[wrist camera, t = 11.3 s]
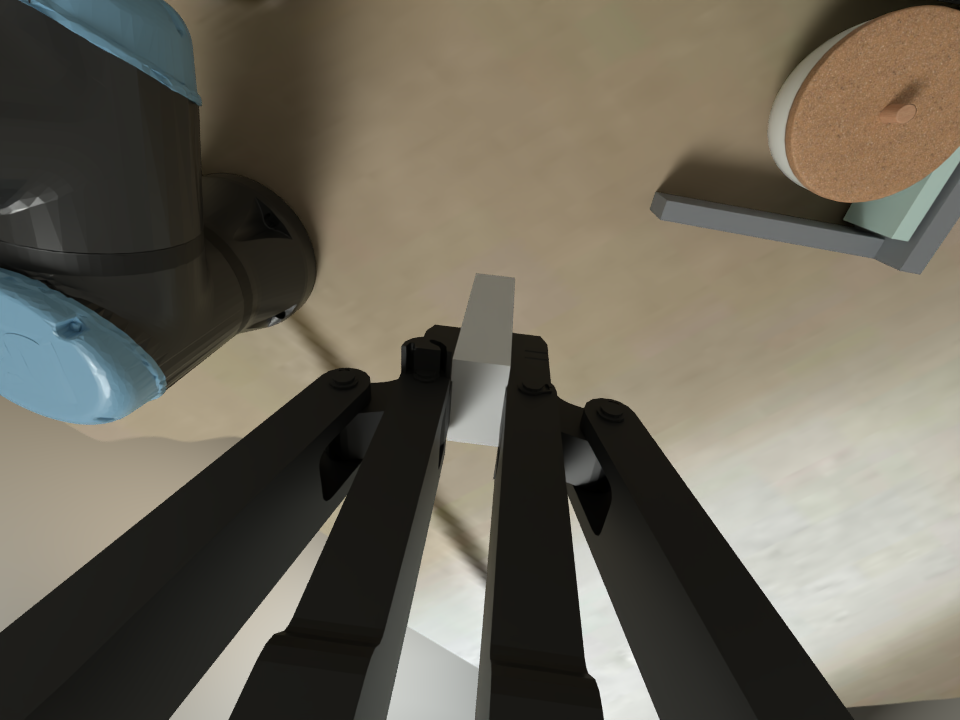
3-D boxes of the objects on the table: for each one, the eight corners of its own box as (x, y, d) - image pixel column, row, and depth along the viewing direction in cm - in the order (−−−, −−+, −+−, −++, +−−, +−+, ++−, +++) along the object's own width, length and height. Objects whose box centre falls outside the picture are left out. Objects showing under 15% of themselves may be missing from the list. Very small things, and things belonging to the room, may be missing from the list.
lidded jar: (741, 58, 33) (805, 43, 25) (911, -1, 31) (1043, -39, 23) (747, 202, 38) (802, 228, 30) (895, 161, 35) (999, 178, 27)
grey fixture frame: (649, 209, 39) (669, 228, 33) (740, -63, 30) (791, -105, 24) (861, 247, 39) (920, 274, 33) (1018, -17, 30) (1140, -48, 24)
